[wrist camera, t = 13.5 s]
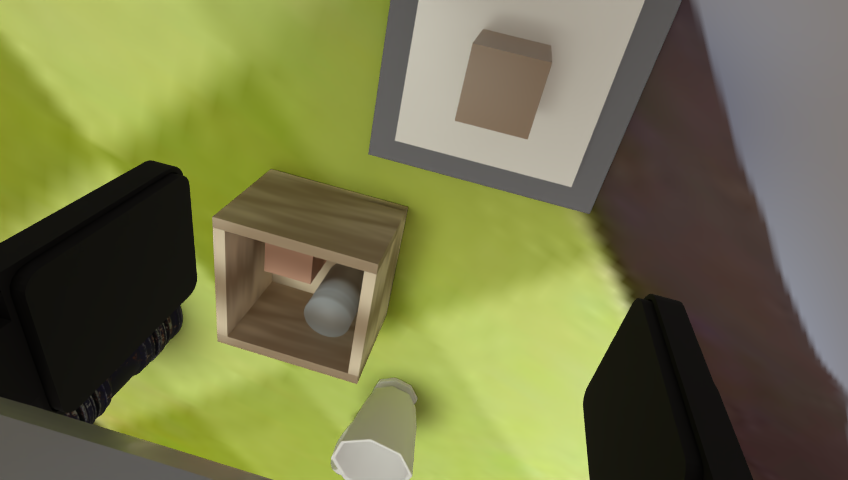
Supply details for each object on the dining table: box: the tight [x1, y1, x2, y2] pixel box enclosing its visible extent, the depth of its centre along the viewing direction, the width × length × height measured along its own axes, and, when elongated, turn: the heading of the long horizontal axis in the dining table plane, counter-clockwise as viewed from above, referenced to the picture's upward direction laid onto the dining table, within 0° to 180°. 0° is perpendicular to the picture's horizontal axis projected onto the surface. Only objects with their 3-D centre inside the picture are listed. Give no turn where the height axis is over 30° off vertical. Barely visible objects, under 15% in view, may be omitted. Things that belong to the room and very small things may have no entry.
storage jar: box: [63, 306, 183, 424], centre depth 43 cm, size 10×10×15 cm
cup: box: [331, 378, 417, 480], centre depth 45 cm, size 7×10×8 cm
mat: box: [369, 0, 682, 214], centre depth 31 cm, size 16×16×1 cm
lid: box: [395, 0, 645, 187], centre depth 28 cm, size 12×12×6 cm
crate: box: [212, 169, 408, 384], centre depth 37 cm, size 11×11×8 cm
